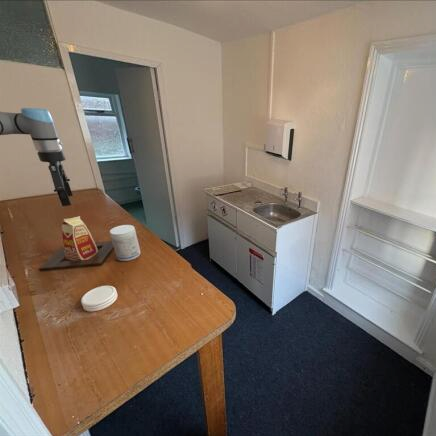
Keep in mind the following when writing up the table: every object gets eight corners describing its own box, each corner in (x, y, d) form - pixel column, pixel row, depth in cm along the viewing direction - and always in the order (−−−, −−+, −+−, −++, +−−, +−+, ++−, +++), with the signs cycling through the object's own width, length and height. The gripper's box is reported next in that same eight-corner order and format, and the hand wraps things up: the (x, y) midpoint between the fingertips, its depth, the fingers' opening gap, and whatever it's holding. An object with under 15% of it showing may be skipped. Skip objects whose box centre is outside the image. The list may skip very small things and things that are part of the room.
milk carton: (82, 262, 105) (68, 222, 96) (65, 259, 106) (49, 219, 97) (101, 251, 113) (88, 214, 105) (84, 249, 114) (71, 211, 106)
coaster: (107, 312, 81) (104, 304, 79) (76, 312, 80) (72, 304, 78) (123, 292, 90) (121, 284, 88) (96, 292, 89) (93, 284, 87)
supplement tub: (120, 252, 114) (113, 225, 107) (143, 249, 117) (136, 223, 110) (114, 263, 105) (105, 235, 99) (138, 260, 108) (131, 233, 102)
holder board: (40, 271, 97) (38, 268, 97) (67, 246, 115) (66, 244, 114) (101, 265, 103) (100, 262, 103) (118, 243, 121) (118, 240, 120)
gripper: (60, 155, 86) (78, 208, 95) (65, 146, 103) (80, 191, 112) (31, 156, 82) (53, 211, 90) (41, 146, 99) (58, 193, 108)
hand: (68, 200), depth 101 cm, fingers open, 13 cm apart
